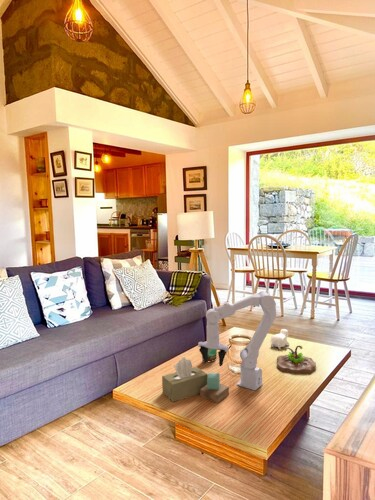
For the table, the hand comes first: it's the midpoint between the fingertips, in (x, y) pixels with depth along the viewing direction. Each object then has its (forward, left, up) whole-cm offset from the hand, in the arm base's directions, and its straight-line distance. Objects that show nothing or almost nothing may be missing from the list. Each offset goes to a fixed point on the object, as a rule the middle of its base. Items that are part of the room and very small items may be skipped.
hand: (213, 363), depth 166 cm
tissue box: (+7, +13, -11) cm, 18 cm away
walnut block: (-6, +8, -11) cm, 14 cm away
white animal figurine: (-4, -66, -11) cm, 67 cm away
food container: (+17, -24, -11) cm, 32 cm away
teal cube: (-5, +7, -7) cm, 11 cm away
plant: (-23, -43, -11) cm, 50 cm away
